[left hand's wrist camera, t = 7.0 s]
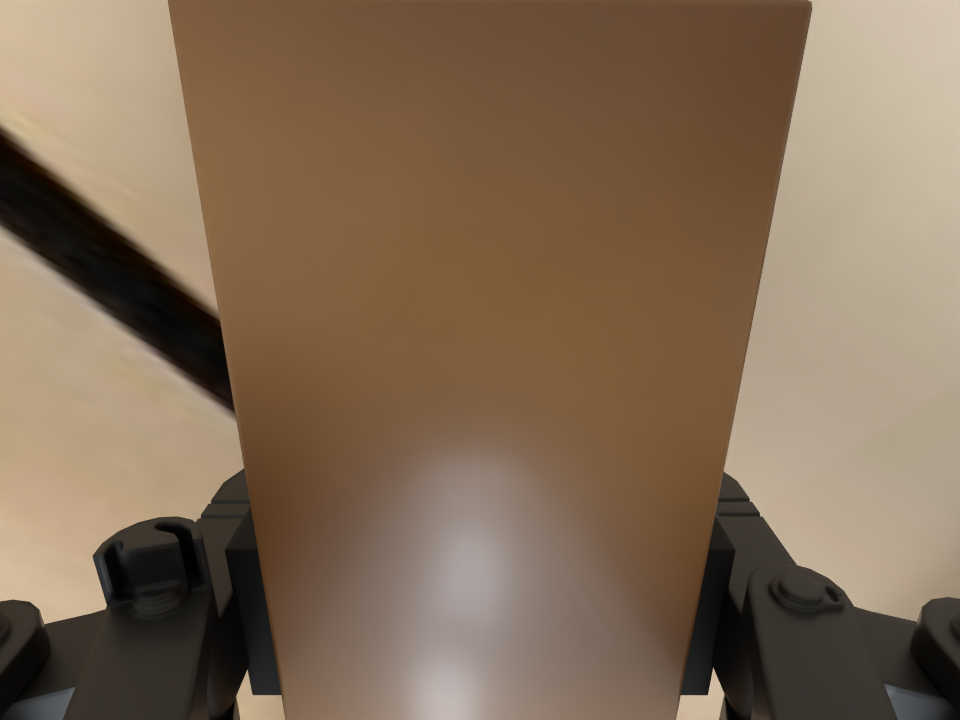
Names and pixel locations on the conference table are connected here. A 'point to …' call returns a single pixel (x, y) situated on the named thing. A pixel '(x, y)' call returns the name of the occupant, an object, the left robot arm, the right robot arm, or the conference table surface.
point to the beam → (486, 330)
